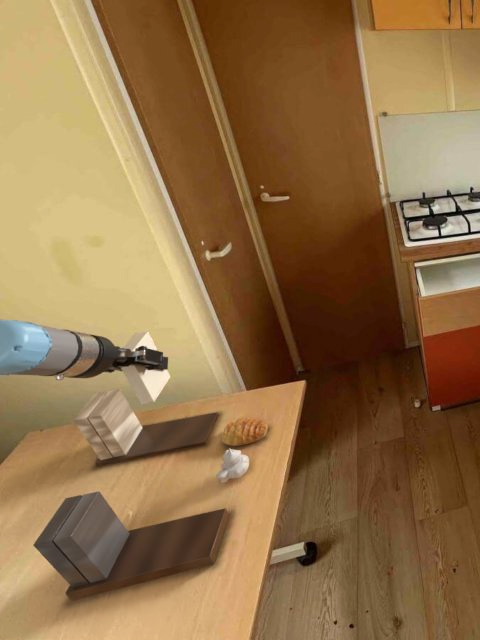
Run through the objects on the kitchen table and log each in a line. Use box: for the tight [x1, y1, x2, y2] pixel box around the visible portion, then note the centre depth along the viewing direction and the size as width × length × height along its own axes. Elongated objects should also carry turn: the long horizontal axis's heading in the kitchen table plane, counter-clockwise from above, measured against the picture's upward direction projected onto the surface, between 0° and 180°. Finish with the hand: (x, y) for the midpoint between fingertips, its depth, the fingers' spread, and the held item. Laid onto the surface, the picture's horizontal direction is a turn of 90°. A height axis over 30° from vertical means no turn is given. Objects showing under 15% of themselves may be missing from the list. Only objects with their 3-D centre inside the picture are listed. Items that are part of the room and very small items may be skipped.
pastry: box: [221, 417, 268, 447], centre depth 103 cm, size 9×7×4 cm
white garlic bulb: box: [216, 447, 250, 483], centre depth 92 cm, size 5×7×8 cm
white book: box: [121, 331, 171, 405], centre depth 90 cm, size 2×8×13 cm, turn 15°
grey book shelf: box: [32, 490, 231, 602], centre depth 76 cm, size 22×9×16 cm, turn 105°
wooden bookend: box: [72, 388, 219, 467], centre depth 100 cm, size 22×9×14 cm, turn 105°
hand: (157, 364), depth 95 cm, fingers closed on white book, 2 cm apart
